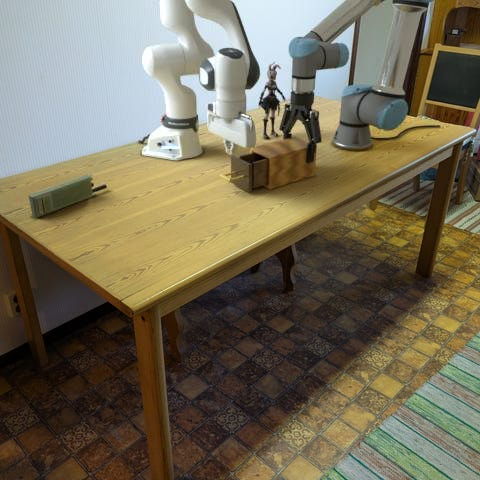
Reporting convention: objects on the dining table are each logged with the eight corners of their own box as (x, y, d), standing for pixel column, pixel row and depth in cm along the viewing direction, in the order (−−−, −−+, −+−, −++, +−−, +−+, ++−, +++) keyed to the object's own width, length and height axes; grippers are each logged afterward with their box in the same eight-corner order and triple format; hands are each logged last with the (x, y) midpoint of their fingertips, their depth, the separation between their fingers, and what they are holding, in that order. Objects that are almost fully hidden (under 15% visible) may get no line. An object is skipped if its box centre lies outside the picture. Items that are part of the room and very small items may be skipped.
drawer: (233, 196, 155) (233, 169, 150) (216, 186, 161) (215, 160, 157) (293, 178, 167) (294, 152, 163) (274, 169, 174) (275, 144, 169)
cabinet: (269, 189, 162) (271, 157, 157) (249, 178, 169) (250, 147, 164) (314, 175, 172) (317, 144, 167) (293, 166, 180) (295, 136, 174)
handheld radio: (30, 215, 144) (102, 188, 161) (37, 219, 142) (109, 191, 159) (26, 193, 140) (100, 168, 157) (33, 197, 138) (107, 171, 155)
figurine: (261, 141, 202) (264, 63, 188) (251, 138, 206) (252, 61, 192) (286, 134, 211) (290, 59, 196) (276, 131, 215) (279, 57, 200)
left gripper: (262, 114, 141) (260, 161, 148) (220, 99, 155) (220, 143, 162) (244, 118, 138) (243, 166, 144) (202, 102, 152) (204, 147, 159)
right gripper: (337, 96, 154) (330, 164, 165) (287, 82, 171) (284, 145, 181) (320, 100, 151) (314, 169, 161) (270, 85, 167) (267, 149, 178)
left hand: (231, 154), depth 153 cm, fingers closed
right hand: (298, 157), depth 171 cm, fingers closed on cabinet, 11 cm apart
